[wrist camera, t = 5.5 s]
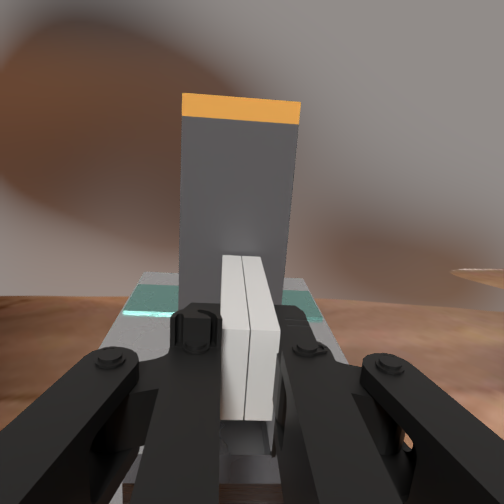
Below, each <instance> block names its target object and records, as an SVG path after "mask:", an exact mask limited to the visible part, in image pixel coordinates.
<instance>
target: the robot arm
mask: <svg viewBox="0 0 504 504" xmlns="http://www.w3.org/2000/svg"><path fill="white" fill-rule="evenodd" d="M273 406H274V412H275V424H274V434H273V444H272V454H271V457H276V453H277V460H278V467H279V473H280V480H281V487H282V494H283V500H284V504H504V440H503V439H501V438H500V437H499V436H498V435H497V434H495V433H494V432H493V431H492V430H491V429H489V428H488V427H487V426H486V425H484V424H483V423H482V422H481V421H480V420H478V419H477V418H476V417H475V416H474V415H472V414H471V413H470V412H469V411H468V410H466V409H465V408H464V407H463V406H461V405H460V404H459V403H458V402H457V401H455V400H454V399H453V398H452V397H451V396H449V395H448V394H447V393H446V392H445V391H443V390H442V389H441V388H440V387H438V386H437V385H436V384H435V383H434V382H432V381H431V380H430V379H429V378H428V377H426V376H425V375H424V374H423V373H422V372H420V371H419V370H418V369H417V368H415V367H414V366H413V365H412V364H410V363H409V362H407V361H406V360H404V359H402V358H399V357H397V356H395V355H392V354H388V353H374V354H370V355H367V356H366V357H365V358H364V359H363V363H362V367H358V366H353V365H348V364H344V363H340V362H338V361H336V360H335V358H334V356H333V354H332V352H331V350H330V349H329V348H328V347H327V346H326V345H324V344H322V343H321V342H318V341H316V338H315V336H314V334H313V331H312V329H311V327H310V325H309V322H308V321H307V318H306V315H305V313H304V312H303V311H302V310H301V309H299V308H298V307H297V306H295V305H273V301H272V298H271V294H270V290H269V287H268V283H267V279H266V276H265V272H264V268H263V265H262V261H261V257H255V256H242V260H241V256H234V255H223V256H222V276H221V296H220V304H217V303H192V302H191V303H190V304H189V305H188V306H186V307H185V308H184V309H181V310H179V311H177V312H175V313H173V314H172V316H171V317H170V347H169V351H168V353H167V354H166V355H164V356H162V357H159V358H156V359H151V360H146V361H140V362H139V358H138V355H137V353H136V352H134V351H133V350H131V349H128V348H125V347H116V346H110V347H104V348H101V349H98V350H95V351H92V352H91V353H89V354H88V355H86V356H84V357H83V358H82V359H81V360H80V361H79V362H78V363H77V364H75V365H74V366H73V367H72V368H71V369H70V370H69V371H68V372H66V373H65V374H64V375H63V376H62V377H61V378H60V379H59V380H58V381H56V382H55V383H54V384H53V385H52V386H51V387H50V388H49V389H47V390H46V391H45V392H44V393H43V394H42V395H41V396H40V397H38V398H37V399H36V400H35V401H34V402H33V403H32V404H31V405H30V406H28V407H27V408H26V409H25V410H24V411H23V412H22V413H21V414H19V415H18V416H17V417H16V418H15V419H14V420H13V421H12V422H10V423H9V424H8V425H7V426H6V427H5V428H4V429H3V430H1V431H0V504H109V503H110V501H111V500H112V498H113V496H114V495H115V493H116V491H117V490H118V488H119V486H120V485H121V483H122V481H123V479H124V478H125V476H126V474H127V473H128V471H129V469H130V468H131V466H132V464H133V463H134V461H135V459H136V458H137V456H138V453H139V450H140V446H144V449H143V452H142V456H141V460H140V464H139V468H138V472H137V476H136V480H135V484H134V488H133V491H132V495H131V499H130V503H129V504H219V448H220V420H243V415H244V420H259V421H272V415H273ZM405 432H406V434H407V435H408V436H409V437H410V439H411V440H412V442H413V448H412V449H411V448H409V447H408V446H407V444H406V443H405V442H404V437H405Z"/></svg>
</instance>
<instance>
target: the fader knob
mask: <svg viewBox="0 0 504 504" xmlns="http://www.w3.org/2000/svg"><path fill="white" fill-rule="evenodd" d="M300 106H301V103H300V102H293V101H280V100H268V99H254V98H241V97H229V96H216V95H204V94H191V93H182V139H181V191H180V241H179V292H178V311H179V310H181V309H184V308H185V307H186V306H188V305H189V304H190V303H191V302H192V303H217V304H220V296H221V276H222V256H223V255H234V256H241V260H242V256H255V257H261V261H262V265H263V268H264V272H265V276H266V279H267V283H268V287H269V290H270V294H271V298H272V301H273V305H282V295H283V284H284V274H285V273H284V272H285V263H286V251H287V242H288V232H289V221H290V211H291V200H292V190H293V178H294V169H295V158H296V148H297V137H298V126H299V116H300Z"/></svg>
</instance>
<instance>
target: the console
mask: <svg viewBox="0 0 504 504" xmlns="http://www.w3.org/2000/svg"><path fill="white" fill-rule="evenodd" d="M178 292H179V273H161V272H144V273H143V275H142V276H141V278H140V280H139V282H138V283H137V285H136V286H135V288H134V290H133V292H132V293H131V295H130V297H129V298H128V300H127V302H126V303H125V305H124V307H123V308H122V310H121V312H120V314H119V315H118V317H117V319H116V320H115V322H114V324H113V325H112V327H111V329H110V331H109V332H108V334H107V336H106V337H105V339H104V341H103V342H102V344H101V346H100V347H99V349H101V348H104V347H110V346H116V347H125V348H128V349H131V350H133V351H134V352H136V353H137V355H138V358H139V362H140V361H146V360H151V359H156V358H159V357H162V356H164V355H166V354H167V353H168V351H169V347H170V317H171V316H172V314H173V313H175V312H177V311H178ZM282 305H295V306H297V307H298V308H299V309H301V310H302V311H303V312H304V313H305V315H306V318H307V321H308V322H309V325H310V327H311V329H312V331H313V334H314V336H315V338H316V341H318V342H321V343H322V344H324V345H326V346H327V347H328V348H329V349H330V350H331V352H332V354H333V356H334V358H335V360H336V361H338V362H340V363H344V364H348V362H347V360H346V358H345V356H344V354H343V352H342V350H341V349H340V347H339V345H338V343H337V341H336V339H335V337H334V336H333V334H332V332H331V330H330V328H329V326H328V324H327V322H326V321H325V319H324V317H323V315H322V313H321V311H320V309H319V308H318V306H317V304H316V302H315V300H314V298H313V296H312V295H311V293H310V291H309V289H308V287H307V285H306V284H305V281H304V280H303V279H300V278H284V284H283V295H282ZM348 365H349V364H348ZM274 424H275V412H274V406H273V415H272V421H259V420H244V415H243V420H220V448H219V504H284V500H283V494H282V487H281V480H280V473H279V467H278V460H277V453H276V457H271V454H272V444H273V434H274ZM143 449H144V446H140V450H139V453H138V456H137V458H136V459H135V461H134V463H133V464H132V466H131V468H130V469H129V471H128V473H127V474H126V476H125V478H124V479H123V481H122V483H121V485H120V486H119V488H118V490H117V491H116V493H115V495H114V496H113V498H112V500H111V501H110V503H109V504H129V503H130V499H131V495H132V491H133V488H134V484H135V480H136V476H137V472H138V468H139V464H140V460H141V456H142V452H143Z"/></svg>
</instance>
